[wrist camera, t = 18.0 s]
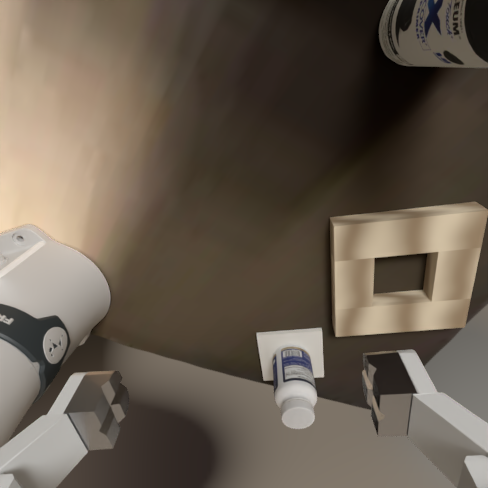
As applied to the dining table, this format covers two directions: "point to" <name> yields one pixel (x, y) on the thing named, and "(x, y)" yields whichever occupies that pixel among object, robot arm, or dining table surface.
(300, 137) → the dining table surface
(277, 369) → the pill bottle
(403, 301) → the socket block
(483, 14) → the spray can
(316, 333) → the pad
